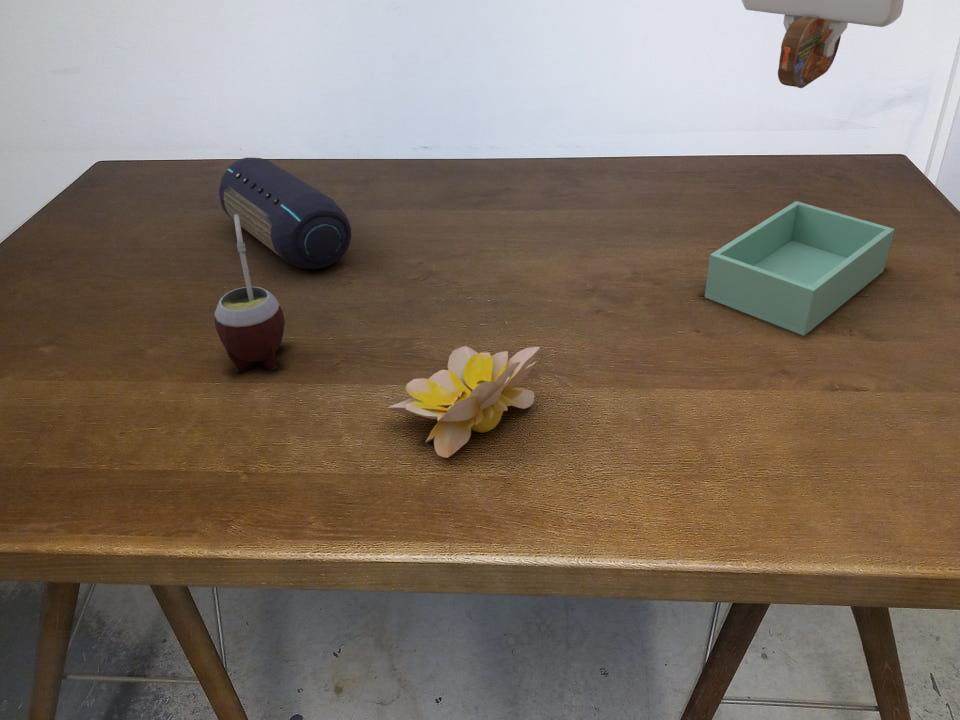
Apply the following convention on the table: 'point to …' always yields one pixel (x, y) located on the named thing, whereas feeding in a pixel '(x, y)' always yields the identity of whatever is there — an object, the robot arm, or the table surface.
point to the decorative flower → (469, 395)
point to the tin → (804, 52)
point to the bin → (798, 265)
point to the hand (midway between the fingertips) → (809, 53)
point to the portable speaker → (285, 213)
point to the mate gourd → (249, 321)
